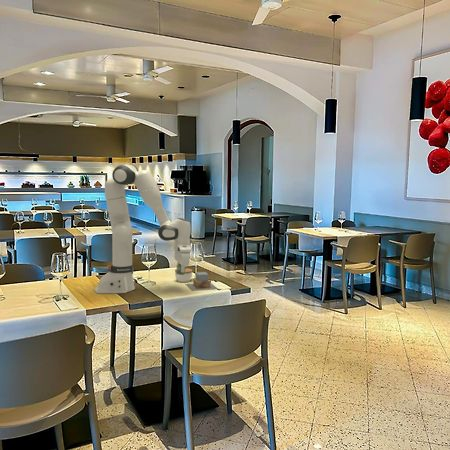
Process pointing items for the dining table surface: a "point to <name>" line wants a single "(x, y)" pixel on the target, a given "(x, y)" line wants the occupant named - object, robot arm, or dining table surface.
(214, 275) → the dining table surface
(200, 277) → the tower top
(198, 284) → the block
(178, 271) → the olive green cylinder
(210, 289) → the mat
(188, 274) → the lidded jar
